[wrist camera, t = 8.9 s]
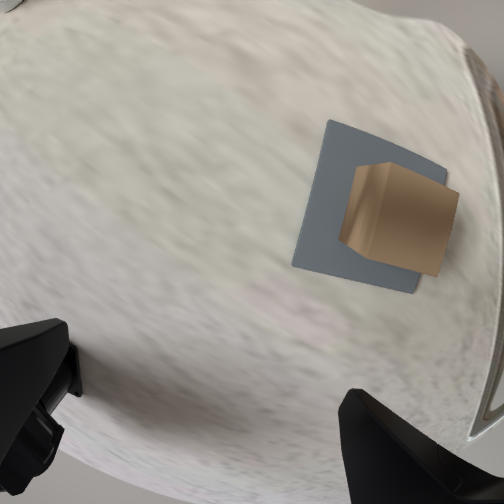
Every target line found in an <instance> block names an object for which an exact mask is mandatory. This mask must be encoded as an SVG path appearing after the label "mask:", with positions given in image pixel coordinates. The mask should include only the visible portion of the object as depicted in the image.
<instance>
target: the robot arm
mask: <svg viewBox="0 0 504 504" xmlns="http://www.w3.org/2000/svg"><path fill="white" fill-rule="evenodd" d="M67 392H68V393H70V394H72V395H74V396H77V397H81V396H82V394H83V393H82V386H81V379H80V371H79V362H78V352H77V349H76V347H75V346H73V345H72V344H69V333H68V325H67V323H66V322H65V321H63V320H60V319H58V318H54V319H49V320H44V321H39V322H34V323H29V324H24V325H18V326H13V327H8V328H3V329H0V492H5V491H7V492H8V493H9V494H10V495H12V496H15V495H18V494H21V493H23V492H24V491H25V488H26V487H27V486H28V484H29V483H30V481H31V480H32V478H33V477H36V476H39V475H41V474H42V473H43V472H45V471H46V470H47V469H48V467H49V466H50V465H51V463H52V462H53V460H54V457H55V454H56V451H57V449H58V446H59V443H60V441H61V438H62V435H63V433H64V430H65V429H64V428H63V427H62V426H61V425H59V424H58V423H57V422H56V421H55V420H54V419H53V418H52V417H51V414H52V412H53V411H54V410H55V408H56V407H57V406H58V404H59V403H60V402H61V400H62V399H63V398H64V396H65V395H66V394H67ZM338 417H339V427H340V439H341V450H342V456H343V461H344V466H345V472H346V477H347V482H348V488H349V493H350V499H351V504H504V478H501V477H496V476H494V475H491V474H489V473H487V472H485V471H483V470H481V469H480V468H478V467H476V466H474V465H472V464H470V463H468V462H466V461H465V460H463V459H461V458H459V457H457V456H456V455H454V454H453V453H451V452H450V451H448V450H447V449H445V448H444V447H442V446H441V445H439V444H437V443H436V442H435V441H433V440H432V439H430V438H429V437H428V436H426V435H425V434H423V433H422V432H420V431H419V430H418V429H416V428H415V427H413V426H412V425H411V424H409V423H408V422H406V421H405V420H404V419H402V418H401V417H399V416H398V415H397V414H395V413H394V412H392V411H391V410H390V409H388V408H387V407H386V406H384V405H383V404H382V403H380V402H379V401H378V400H376V399H375V398H374V397H372V396H371V395H370V394H368V393H367V392H366V391H364V390H363V389H354V388H352V389H350V390H349V391H348V392H347V394H346V396H345V398H344V399H343V401H342V403H341V405H340V407H339V410H338Z"/></svg>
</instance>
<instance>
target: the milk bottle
mask: <svg viewBox="0 0 504 504" xmlns="http://www.w3.org/2000/svg"><path fill="white" fill-rule="evenodd" d="M22 1H23V0H0V13H4V12H8V11H10V10H11V9H13V8H14V7H16V6H17V5H18V4H19V3H21V2H22Z"/></svg>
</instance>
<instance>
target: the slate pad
mask: <svg viewBox="0 0 504 504" xmlns="http://www.w3.org/2000/svg"><path fill="white" fill-rule="evenodd" d="M387 162H392V163H395V164H397V165H400V166H402V167H404V168H407V169H409V170H411V171H414V172H416V173H418V174H420V175H423V176H425V177H427V178H429V179H431V180H433V181H436V182H438V183H440V184H442V185H444V183H445V178H446V172H447V169H445V168H443V167H442V166H440V165H438V164H436V163H434V162H432V161H430V160H428V159H426V158H424V157H422V156H420V155H418V154H415V153H413V152H411V151H409V150H407V149H405V148H402V147H400V146H398V145H396V144H393V143H391V142H389V141H386V140H384V139H381V138H379V137H377V136H374V135H372V134H369V133H366V132H364V131H361V130H359V129H356V128H353V127H350V126H348V125H345V124H342V123H339V122H336V121H333V120H328V122H327V127H326V131H325V135H324V140H323V144H322V148H321V152H320V157H319V161H318V165H317V169H316V173H315V177H314V181H313V185H312V189H311V193H310V197H309V201H308V205H307V208H306V212H305V216H304V220H303V224H302V227H301V231H300V235H299V238H298V242H297V246H296V249H295V253H294V256H293V260H292V263H291V265H292V266H293V267H297V268H302V269H306V270H310V271H315V272H319V273H323V274H328V275H332V276H336V277H341V278H345V279H349V280H354V281H358V282H362V283H367V284H371V285H375V286H380V287H384V288H388V289H393V290H397V291H402V292H406V293H410V294H413V292H414V289H415V287H416V284H417V281H418V278H419V276H420V272H416V271H412V270H409V269H405V268H401V267H397V266H393V265H390V264H386V263H382V262H378V261H374V260H371V259H367V258H365V257H364V256H362V255H361V254H359V253H358V252H356V251H355V250H353V249H352V248H350V247H349V246H347V245H346V244H344V243H342V242H341V241H339V240H338V238H339V234H340V231H341V227H342V223H343V220H344V216H345V212H346V208H347V204H348V200H349V196H350V192H351V188H352V184H353V180H354V175H355V171H356V167H358V166H365V165H372V164H379V163H387Z"/></svg>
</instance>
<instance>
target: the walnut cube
mask: <svg viewBox="0 0 504 504" xmlns="http://www.w3.org/2000/svg"><path fill="white" fill-rule="evenodd" d="M458 198H459V193H458V192H456V191H454V190H452V189H450V188H448V187H446V186H444V185H442V184H440V183H438V182H436V181H433V180H431V179H429V178H427V177H425V176H423V175H420V174H418V173H416V172H414V171H411V170H409V169H407V168H404V167H402V166H400V165H397V164H395V163H392V162H387V163H379V164H372V165H365V166H358V167H356V171H355V175H354V180H353V184H352V188H351V192H350V196H349V200H348V204H347V208H346V212H345V216H344V220H343V223H342V227H341V231H340V234H339V238H338V240H339V241H341V242H342V243H344V244H346V245H347V246H349V247H350V248H352V249H353V250H355V251H356V252H358V253H359V254H361V255H362V256H364V257H365V258H367V259H371V260H374V261H378V262H382V263H386V264H390V265H393V266H397V267H401V268H405V269H409V270H412V271H416V272H420V273H423V274H427V275H431V276H434V277H437V276H438V273H439V270H440V267H441V264H442V260H443V257H444V254H445V251H446V247H447V244H448V240H449V236H450V233H451V229H452V225H453V221H454V217H455V212H456V208H457V203H458Z"/></svg>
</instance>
